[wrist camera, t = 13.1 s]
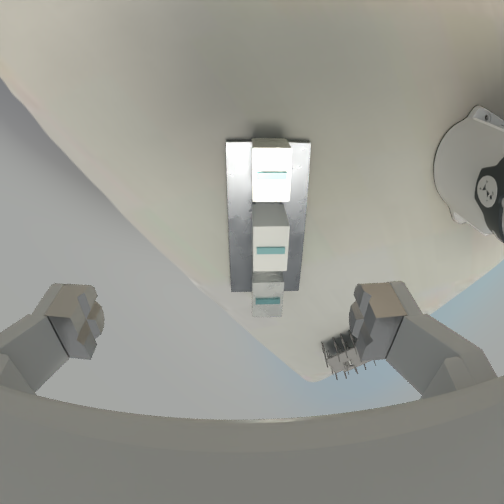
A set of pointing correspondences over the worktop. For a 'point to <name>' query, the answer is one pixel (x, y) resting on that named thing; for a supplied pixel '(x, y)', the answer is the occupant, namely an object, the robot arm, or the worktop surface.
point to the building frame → (344, 358)
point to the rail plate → (266, 192)
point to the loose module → (270, 237)
